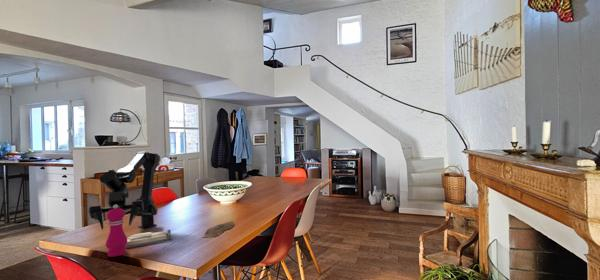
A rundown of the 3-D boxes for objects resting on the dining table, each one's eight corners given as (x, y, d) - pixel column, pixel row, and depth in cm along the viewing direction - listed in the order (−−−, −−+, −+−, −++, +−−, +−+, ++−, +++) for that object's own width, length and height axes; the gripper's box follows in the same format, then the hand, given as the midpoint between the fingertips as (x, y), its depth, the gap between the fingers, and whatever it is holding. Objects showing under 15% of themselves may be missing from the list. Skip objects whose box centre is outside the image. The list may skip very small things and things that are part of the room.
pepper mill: (116, 257, 105) (115, 206, 105) (101, 256, 106) (99, 206, 106) (132, 250, 112) (130, 202, 112) (117, 249, 113) (115, 202, 113)
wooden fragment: (213, 239, 122) (213, 237, 122) (193, 237, 126) (193, 235, 126) (243, 222, 146) (243, 220, 146) (225, 221, 150) (225, 219, 150)
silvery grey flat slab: (121, 243, 121) (120, 237, 121) (170, 234, 130) (170, 229, 130) (118, 249, 113) (118, 244, 113) (171, 240, 122) (170, 234, 122)
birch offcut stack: (125, 240, 121) (125, 235, 121) (166, 233, 129) (166, 228, 129) (123, 246, 114) (123, 240, 114) (166, 238, 122) (166, 233, 122)
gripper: (88, 186, 109) (83, 220, 99) (142, 181, 118) (141, 212, 108) (93, 201, 116) (88, 235, 106) (143, 196, 125) (143, 226, 115)
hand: (116, 227), depth 109 cm, fingers open, 9 cm apart
